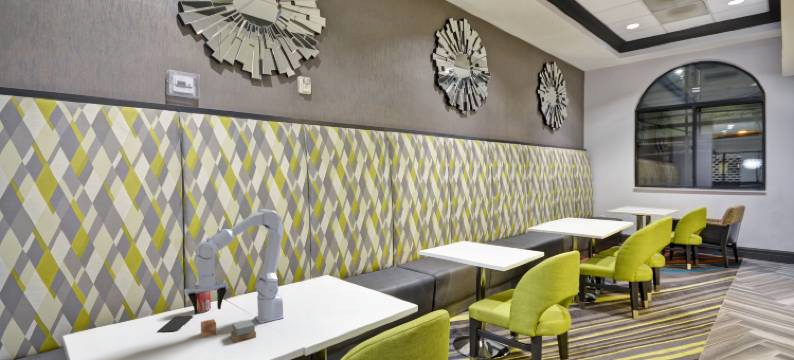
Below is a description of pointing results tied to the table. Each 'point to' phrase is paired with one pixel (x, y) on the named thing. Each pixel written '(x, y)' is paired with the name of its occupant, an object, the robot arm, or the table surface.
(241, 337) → the tower base
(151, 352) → the table surface
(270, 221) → the robot arm
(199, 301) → the soda can
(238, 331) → the tower top
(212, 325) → the terracotta block
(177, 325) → the phone
